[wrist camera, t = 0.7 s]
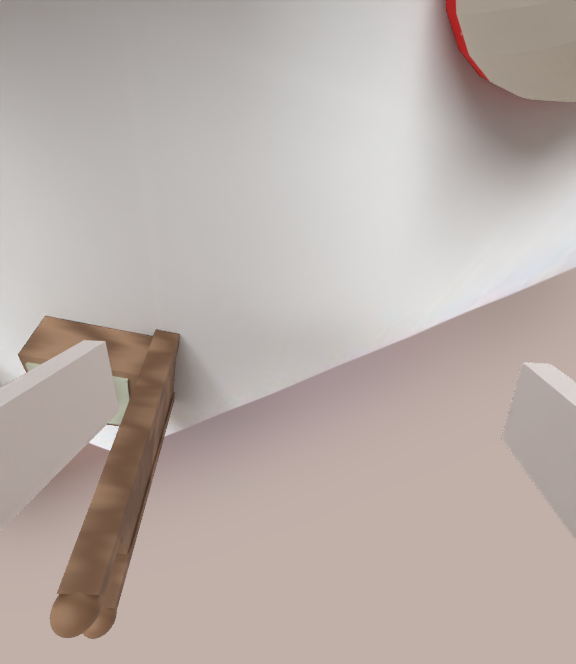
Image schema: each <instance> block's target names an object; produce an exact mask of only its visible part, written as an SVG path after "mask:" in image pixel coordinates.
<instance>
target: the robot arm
mask: <svg viewBox="0 0 576 664" xmlns="http://www.w3.org/2000/svg"><path fill="white" fill-rule="evenodd" d="M118 412H119V407H118V402H117V397H116V392H115V387H114V382H113V377H112V372H111V367H110V362H109V357H108V352H107V347H106V342H105V341H92V340H83V341H81V342H80V343H78V344H76V345H74V346H73V347H71V348H69V349H67V350H66V351H64V352H62V353H60V354H59V355H57V356H55V357H53V358H51V359H50V360H48V361H46V362H44V363H43V364H41V365H39V366H37V367H36V368H34V369H32V370H30V371H29V372H27V373H25V374H23V375H21V376H20V377H18V378H16V379H14V380H13V381H11V382H9V383H7V384H6V385H4V386H2V387H0V531H1V530H2V529H3V528H4V527H5V526H6V525H7V524H8V523H9V522H10V521H11V520H12V519H13V518H14V517H15V516H16V515H17V514H18V513H19V512H20V511H21V510H22V509H23V508H24V507H25V506H26V505H27V504H28V503H29V502H30V501H31V500H32V499H33V498H34V497H35V496H36V495H37V494H38V493H39V492H40V491H41V490H42V489H43V488H44V487H45V486H46V485H47V484H48V483H49V482H50V481H51V480H52V479H53V478H54V477H55V476H56V475H57V474H58V473H59V472H60V470H62V469H63V468H64V467H65V466H66V465H67V463H68V462H70V461H71V459H73V457H74V456H76V455H77V453H79V452H80V450H82V449H83V447H84V446H85V445H86V444H87V443H88V442H89V441H90V440H91V439H92V438H93V437H94V436H95V435H96V434H97V433H98V432H99V431H100V430H101V429H102V428H103V427H104V426H105V425H106V424H107V423H108V422H109V421H110V420H111V419H112V418H113V417H114V416H115V415H116V414H117V413H118ZM501 439H502V441H503V442H504V443H505V445H506V446H507V448H508V449H509V450H510V452H511V453H512V454H513V456H514V457H515V459H516V460H517V461H518V463H519V464H520V465H521V467H522V468H523V469H524V471H525V472H526V474H527V475H528V476H529V478H530V479H531V480H532V482H533V483H534V484H535V486H536V487H537V489H538V490H539V491H540V492H541V494H542V495H543V497H544V498H545V499H546V501H547V502H548V503H549V505H550V506H551V507H552V509H553V510H554V512H555V513H556V514H557V516H558V517H559V519H560V520H561V521H562V523H563V524H564V525H565V527H566V528H567V529H568V531H569V532H570V534H571V535H572V536H573V538H574V539H575V540H576V382H575V381H573V380H572V379H570V378H569V377H568V376H566V375H565V374H563V373H562V372H561V371H559V370H558V369H557V368H555V367H554V366H553V365H551V364H545V363H524V362H523V363H522V366H521V370H520V373H519V377H518V380H517V384H516V388H515V391H514V394H513V398H512V402H511V405H510V409H509V412H508V416H507V419H506V423H505V426H504V430H503V434H502V437H501Z"/></svg>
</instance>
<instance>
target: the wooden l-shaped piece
mask: <svg viewBox="0 0 576 664" xmlns="http://www.w3.org/2000/svg"><path fill="white" fill-rule="evenodd" d="M83 340H92V341H105V342H106V347H107V352H108V357H109V362H110V367H111V372H112V377H113V382H114V387H115V392H116V397H117V402H118V407H119V412H118V413H117V414H116V415H115V416H114V417H113V418H112V419H111V420H110V421H109V422H108V423H107V425H114V426H120V427H119V429H118V432H117V435H116V437H115V440H114V443H113V445H112V448H111V451H110V453H109V456H108V459H107V461H106V464H105V467H104V469H103V472H102V475H101V477H100V480H99V483H98V485H97V488H96V491H95V494H94V496H93V499H92V502H91V504H90V507H89V509H88V512H87V515H86V517H85V520H84V523H83V525H82V528H81V531H80V533H79V536H78V539H77V541H76V544H75V547H74V549H73V552H72V555H71V557H70V560H69V563H68V565H67V568H66V571H65V573H64V576H63V578H62V581H61V584H60V586H59V589H58V592H57V594H59V596H58V597H57V599H56V601H55V602H54V604H53V606H52V610H51V614H50V623H51V627H52V629H53V631H54V632H55V633H56V634H57V635H58V636H60V637H63V638H72V637H76V636H78V635H80V634H82V633H83V634H84V636H86V637H88V638H91V639H95V638H99V637H101V636H103V635H104V634H106V633H107V632H108V631H109V630H110V628H111V627H112V625H113V624H114V621H115V618H116V613H117V607H118V604H119V600H120V596H121V593H122V589H123V585H124V581H125V578H126V574H127V570H128V567H129V563H130V559H131V556H132V552H133V549H134V545H135V542H136V538H137V534H138V530H139V527H140V523H141V520H142V516H143V512H144V509H145V505H146V501H147V498H148V494H149V490H150V487H151V483H152V479H153V476H154V472H155V468H156V465H157V461H158V458H159V454H160V450H161V447H162V443H163V439H164V436H165V432H166V428H167V425H168V421H169V417H170V414H171V410H172V406H173V403H174V393H173V386H174V373H175V360H176V354H177V351H178V345H179V334H176V333H171V332H166V331H160V330H156V331H155V334H154V336H148V335H143V334H138V333H133V332H127V331H122V330H117V329H111V328H106V327H101V326H95V325H90V324H85V323H80V322H74V321H69V320H64V319H58V318H53V317H48V316H45V317H44V318H43V320H42V321H41V323H40V324H39V325H38V327H37V328H36V330H35V331H34V333H33V334H32V335H31V337H30V338H29V340H28V341H27V342H26V344H25V345H24V347H23V348H22V350H21V351H20V352H19V354H18V356H19V358H20V360H21V362H22V364H23V367H24V369H25V371H26V373H27V372H29V371H30V370H32V369H34V368H36V367H37V366H39V365H41V364H43V363H44V362H46V361H48V360H50V359H51V358H53V357H55V356H57V355H59V354H60V353H62V352H64V351H66V350H67V349H69V348H71V347H73V346H74V345H76V344H78V343H80V342H81V341H83Z"/></svg>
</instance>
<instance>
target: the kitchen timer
mask: <svg viewBox="0 0 576 664" xmlns="http://www.w3.org/2000/svg"><path fill="white" fill-rule="evenodd" d="M446 11H447V14H448V17H449V20H450V23H451V27H452V30H453V33H454V36H455V39H456V42H457V45H458V48H459V50H460V52H461V53H462V54H463V55H464V57H465V58H466V59H467V60H468V62H469V63H470V64H471V65H472V67H473V68H474V69H475V70H476V72H477V73H478V74H479V75H480V76H481V77H483V78H484V79H486V80H488V81H489V82H491V83H493V84H495V85H497V86H499V87H501V88H503V89H505V90H507V91H509V92H511V93H513V94H515V95H517V96H519V97H521V98H525V99H531V100H544V101H559V102H576V0H446Z"/></svg>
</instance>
